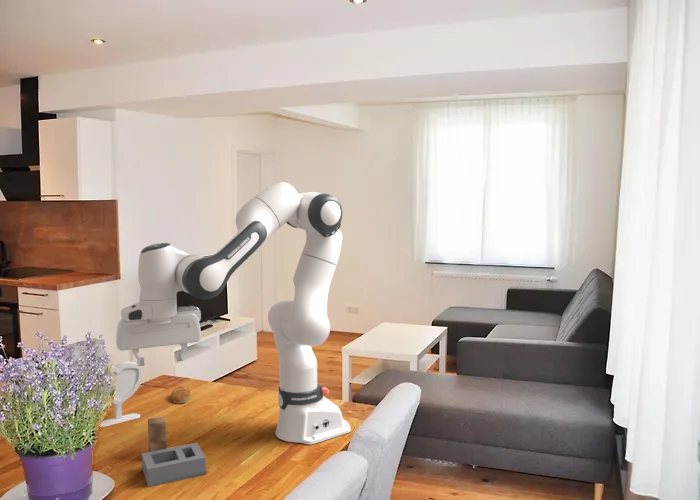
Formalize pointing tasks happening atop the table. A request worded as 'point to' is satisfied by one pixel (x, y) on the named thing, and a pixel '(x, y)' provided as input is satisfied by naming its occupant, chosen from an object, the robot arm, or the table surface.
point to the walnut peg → (156, 434)
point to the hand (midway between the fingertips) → (160, 362)
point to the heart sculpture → (124, 389)
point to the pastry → (180, 395)
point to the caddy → (173, 464)
